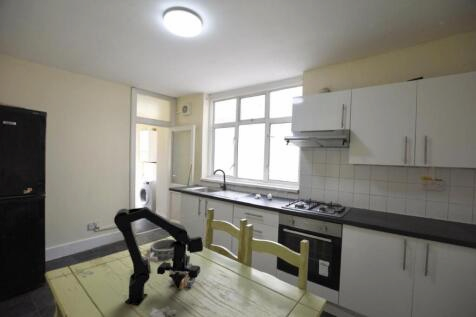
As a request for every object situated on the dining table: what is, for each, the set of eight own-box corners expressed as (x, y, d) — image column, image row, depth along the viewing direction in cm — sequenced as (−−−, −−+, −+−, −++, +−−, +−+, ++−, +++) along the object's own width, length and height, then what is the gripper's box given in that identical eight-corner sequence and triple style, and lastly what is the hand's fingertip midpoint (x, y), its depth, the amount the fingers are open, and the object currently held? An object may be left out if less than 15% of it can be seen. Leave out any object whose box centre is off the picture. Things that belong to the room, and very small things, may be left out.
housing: (191, 287, 101) (191, 275, 101) (170, 285, 102) (171, 273, 102) (195, 279, 107) (195, 269, 107) (176, 277, 109) (176, 267, 108)
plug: (183, 289, 100) (184, 280, 100) (174, 288, 100) (175, 280, 100) (191, 270, 116) (192, 263, 116) (184, 270, 116) (184, 263, 116)
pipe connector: (160, 263, 122) (161, 246, 122) (152, 273, 112) (152, 253, 112) (144, 262, 123) (144, 244, 123) (134, 271, 113) (134, 252, 113)
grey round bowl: (172, 260, 126) (172, 252, 126) (144, 257, 129) (144, 249, 129) (184, 247, 144) (185, 240, 144) (159, 245, 147) (159, 238, 147)
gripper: (204, 248, 105) (203, 280, 105) (168, 245, 108) (167, 276, 108) (197, 259, 94) (195, 294, 94) (156, 255, 97) (155, 290, 97)
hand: (178, 288), depth 99 cm, fingers closed
